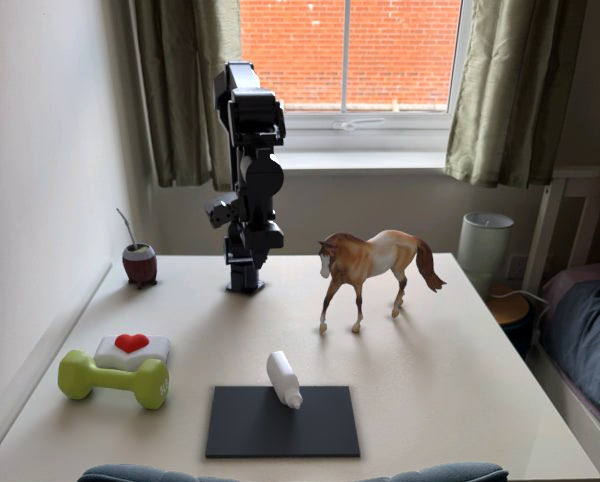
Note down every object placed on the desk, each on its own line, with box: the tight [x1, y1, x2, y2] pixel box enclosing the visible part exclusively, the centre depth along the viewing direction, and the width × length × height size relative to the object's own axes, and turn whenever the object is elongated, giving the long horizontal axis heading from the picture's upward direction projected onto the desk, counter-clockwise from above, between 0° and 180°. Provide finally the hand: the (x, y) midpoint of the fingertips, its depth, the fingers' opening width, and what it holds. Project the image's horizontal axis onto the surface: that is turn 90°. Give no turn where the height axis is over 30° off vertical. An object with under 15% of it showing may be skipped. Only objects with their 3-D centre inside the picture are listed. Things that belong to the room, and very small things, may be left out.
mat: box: [204, 385, 361, 459], centre depth 92 cm, size 17×22×1 cm
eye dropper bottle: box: [266, 350, 303, 409], centre depth 94 cm, size 4×6×12 cm
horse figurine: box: [317, 229, 448, 334], centre depth 112 cm, size 31×8×21 cm, turn 123°
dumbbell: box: [57, 349, 170, 410], centre depth 93 cm, size 16×8×7 cm, turn 79°
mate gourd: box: [115, 207, 158, 290], centre depth 126 cm, size 8×8×15 cm
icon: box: [92, 333, 171, 372], centre depth 103 cm, size 12×4×10 cm
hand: (257, 268), depth 106 cm, fingers closed
